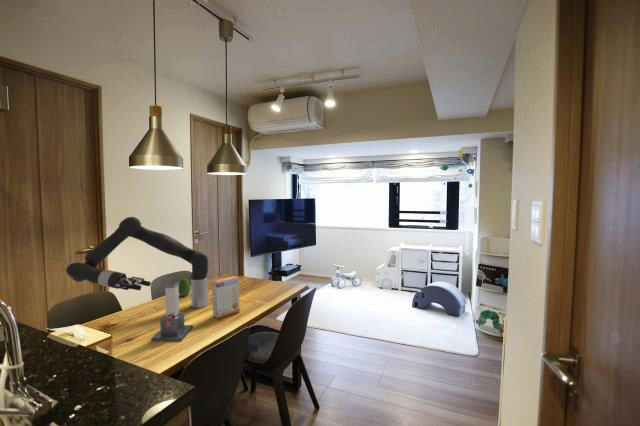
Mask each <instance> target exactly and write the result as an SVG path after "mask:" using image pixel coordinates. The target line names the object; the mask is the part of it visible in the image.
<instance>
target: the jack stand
mask: <svg viewBox="0 0 640 426" xmlns="http://www.w3.org/2000/svg"><path fill="white" fill-rule="evenodd" d="M159 320H160V325H159V327H160V329H159V330H158V331H157V332H156V333H155V334H154V335H153V336H152V337H150V341H151V342H181V341H183V340H184V339H185V338H186V336H187V335H188V334H189V333H190V332H191V331H192V329H193V324H185V312H184V311H183V312H182V311H181V312H180V311H179V315H178V316H177V317H173V315H168V316H166V313H165V314H164V315H163V316H162V317H160V319H159Z"/></svg>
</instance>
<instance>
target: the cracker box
mask: <svg viewBox="0 0 640 426" xmlns="http://www.w3.org/2000/svg"><path fill="white" fill-rule="evenodd" d="M211 282H212V283H211V285H212V286H211V289H212V316H213V317H214V318H216V319H218V320H219V319H222V318H225V317H228V316H231V315H234V314H237V313H240V312H241V310H240V278H239V277H238V276H235V275H231V276H227V277H222V278H217V279H214V280H213V279H212V281H211Z"/></svg>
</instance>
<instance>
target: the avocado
mask: <svg viewBox="0 0 640 426" xmlns="http://www.w3.org/2000/svg"><path fill="white" fill-rule="evenodd" d="M178 289H179V296H181V297H186V296H188V295H189V294H190V293H191V283H190V281H189V280H188V279H187V278H183V279H181V280H179V285H178Z"/></svg>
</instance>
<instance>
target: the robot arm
mask: <svg viewBox="0 0 640 426" xmlns="http://www.w3.org/2000/svg"><path fill="white" fill-rule="evenodd" d="M129 237H130V238H133V239H136V240H139V241H141V242H143V243H145V244H147V245H148V246H151V247H153V248H155V249H156V250H158V251H161V252H163V253H165V254H167V255H170V256H174V257H177V258H181V259H182V260H184V261H186V262H188V263H189V264H190V265H191V274H190V294H191V295H190V301H191V306H190V307H191V308H194V309H201V308H204V307H206V306H208V304H209V288H208V274H209V272H208V271H209V260H208V255H206V254H205V253H203V252H202V251H199V250H196V249H193V248H190V247H188V246H186V245H184V244H183V243H182V242H180V241H178V240H177V239H175V238H173V237H171V236H170V235H167V234H165V233H162V232H158V231H154V230H151V229H148V228H146V227H144V226H142V222H141V221H140V219H139V218H137V217H135V216H128V217H126V218H124V219H122V220H121V221H120V223H119V224H118V228H116V229H115V230H114V232H113V233H111V234H110V235H109V236H108V237H106V238H105V239H104V240H103V241H101V242H100V243H98V244H97V245H96V246H95V247H93V248H92V249H91V250H90V251H89V252H88V253H86V254H85V256H84V260H85V261H84V262H78V261H77V262H72V263H71V264H68V266H67V267H66V269H65V272H66V274H67V276H69V278H71V279H72V280H73V281H75V282H78V283H79V282H84V281H85V280H86V281H88V282H89V283H92V284H96V285H100V286H104V287H108V288H112V289H118V290H119V289H120V290H123V291H124V290H125V291H128V290H135V291H141V290H142V286H145V287H150V286H151V283H152V282H151V281H147V280H145V278H143V277H137V276H132V277H130V276H129V277H127V274H126V273H124V272H119V271H114V270H108V269H102V268H97V267H98V265H99V264H100V263H101V262H103V261H104V260H105V259H106V258H107V257H108V256H110V254H111V253H112V252H114V250H116V248H117V247H118V246H120V244H122V243H123V242H124V241H125V240H127V239H128V238H129Z"/></svg>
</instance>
